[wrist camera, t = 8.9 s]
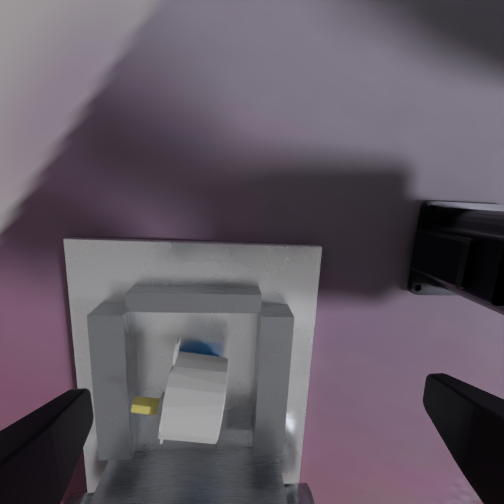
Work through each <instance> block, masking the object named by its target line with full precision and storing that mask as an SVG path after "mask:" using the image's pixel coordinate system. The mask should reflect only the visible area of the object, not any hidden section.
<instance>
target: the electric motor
mask: <svg viewBox="0 0 504 504" xmlns="http://www.w3.org/2000/svg"><path fill="white" fill-rule="evenodd" d="M179 345H180V338H177V341H176V345H175V350H174V355H173V361H172V364H173V365H172V367H171V370H170V374H169V378H168V382H167V386H166V391H165V392H162V394H161V397H160V398H151V397H135V399H134V401H133V403H132V406H131V412H133V413H140V414H147V415H156V419H155V423H159V424H160V425H159V434H158V439H160V444H162V443H163V439H165V440H176V441H186V442H197V443H208V444H216V442H217V440H218V437H219V433H220V428H221V423H222V417H223V411H224V404H225V396H226V387H227V377H228V359H227V358H225V357H219V356H218V355H211V354H204V353H197V352H190V351H183V350H179Z"/></svg>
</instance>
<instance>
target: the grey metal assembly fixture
mask: <svg viewBox="0 0 504 504" xmlns="http://www.w3.org/2000/svg"><path fill="white" fill-rule="evenodd" d="M63 240H64V251H65V261H66V272H67V282H68V293H69V303H70V314H71V324H72V335H73V345H74V356H75V366H76V377H77V387H78V388H87V389H89V391H90V393H91V400H92V407H93V414H94V419H93V424H92V427H91V430H90V432H89V435H88V437H87V440H86V442H85V445H84V447H83V450H84V461H85V471H86V482H87V492H88V493H74V494H72V495H71V496H70V497H69V498H68V499H67V500H66V501H65V503H64V504H314V501H313V497H312V493H311V491H310V488H309V486H308V484H307V483H299V475H300V465H301V455H302V445H303V435H304V425H305V415H306V405H307V395H308V385H309V375H310V365H311V355H312V345H313V335H314V325H315V315H316V305H317V295H318V285H319V275H320V265H321V255H322V247H321V246H320V245H309V244H278V243H246V242H214V241H183V240H151V239H119V238H88V237H69V238H65V239H63ZM177 338H180V345H179V350H183V351H190V352H197V353H204V354H211V355H218V356H219V357H225V358H227V359H228V377H227V387H226V396H225V404H224V411H223V417H222V423H221V428H220V433H219V437H218V440H217V442H216V444H208V443H197V442H186V441H176V440H165V439H163V443H162V444H160V439H158V434H159V425H160V424H159V423H155V419H156V415H147V414H140V413H133V412H131V406H132V403H133V401H134V399H135V397H151V398H160V397H161V394H162V392H165V391H166V386H167V382H168V378H169V374H170V370H171V367H172V365H173V364H172V361H173V355H174V350H175V345H176V341H177Z"/></svg>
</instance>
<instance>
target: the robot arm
mask: <svg viewBox="0 0 504 504" xmlns="http://www.w3.org/2000/svg"><path fill="white" fill-rule="evenodd" d="M430 206H431V211H430V212H429V210H428V209H429V207H430ZM416 285H418V287H417V288H416V289H415V286H416ZM408 290H409V291H410V292H411V293H413V294H416V295H460V296H462V297H464V298H467V299H469V300H471V301H473V302H476V303H478V304H480V305H482V306H485V307H487V308H489V309H491V310H493V311H496V312H498V313H500V314H502V315H504V205H501V204H480V203H459V202H438V201H427V202H425V203H423V205H422V207H421V211H420V216H419V222H418V228H417V233H416V237H415V243H414V248H413V254H412V260H411V269H410V275H409V281H408ZM423 404H424V407H425V410H426V412H427V413H428V415H429V417H430V418H431V420H432V422H433V424H434V425H435V427H436V429H437V430H438V432H439V434H440V436H441V437H442V439H443V441H444V443H445V444H446V446H447V448H448V449H449V451H450V453H451V455H452V456H453V458H454V460H455V461H456V463H457V465H458V466H459V468H460V469H461V471H462V473H463V474H464V476H465V477H466V479H467V480H468V482H469V483H470V485H471V486H472V488H473V489H474V490H475V492H476V493H477V495H478V496H479V498H480V499H481V501H482V502H483V503H484V504H504V399H501V398H499V397H497V396H495V395H492V394H490V393H488V392H485V391H483V390H481V389H479V388H476V387H474V386H472V385H470V384H467V383H465V382H463V381H460V380H458V379H456V378H454V377H451V376H449V375H447V374H443V373H436V374H429V375H428V376H427V377H426V382H425V389H424V395H423ZM93 419H94V414H93V407H92V400H91V393H90V391H89V389H87V388H78V389H70V390H68V391H67V392H65V393H63V394H62V395H60V396H58V397H57V398H55V399H53V400H52V401H50V402H48V403H47V404H45V405H43V406H42V407H40V408H38V409H37V410H35V411H33V412H31V413H30V414H28V415H26V416H25V417H23V418H21V419H20V420H18V421H16V422H15V423H13V424H11V425H10V426H8V427H6V428H5V429H3V430H1V431H0V504H60V502H61V500H62V498H63V496H64V493H65V491H66V489H67V486H68V484H69V482H70V479H71V477H72V474H73V472H74V469H75V467H76V464H77V462H78V459H79V457H80V455H81V452H82V450H83V447H84V445H85V442H86V440H87V437H88V435H89V432H90V430H91V427H92V424H93Z"/></svg>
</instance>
